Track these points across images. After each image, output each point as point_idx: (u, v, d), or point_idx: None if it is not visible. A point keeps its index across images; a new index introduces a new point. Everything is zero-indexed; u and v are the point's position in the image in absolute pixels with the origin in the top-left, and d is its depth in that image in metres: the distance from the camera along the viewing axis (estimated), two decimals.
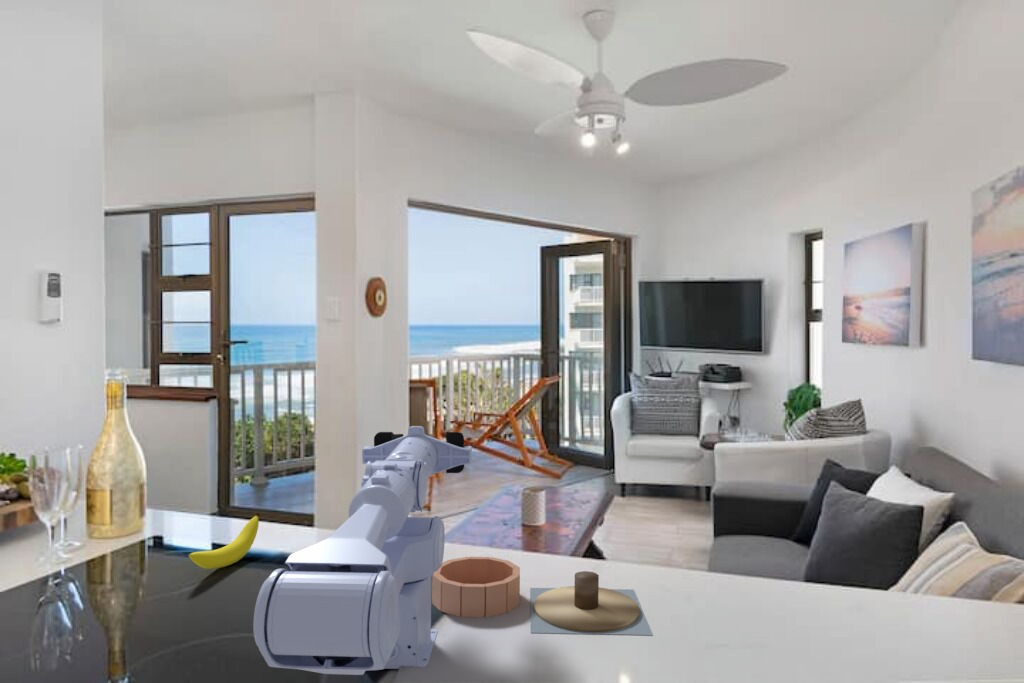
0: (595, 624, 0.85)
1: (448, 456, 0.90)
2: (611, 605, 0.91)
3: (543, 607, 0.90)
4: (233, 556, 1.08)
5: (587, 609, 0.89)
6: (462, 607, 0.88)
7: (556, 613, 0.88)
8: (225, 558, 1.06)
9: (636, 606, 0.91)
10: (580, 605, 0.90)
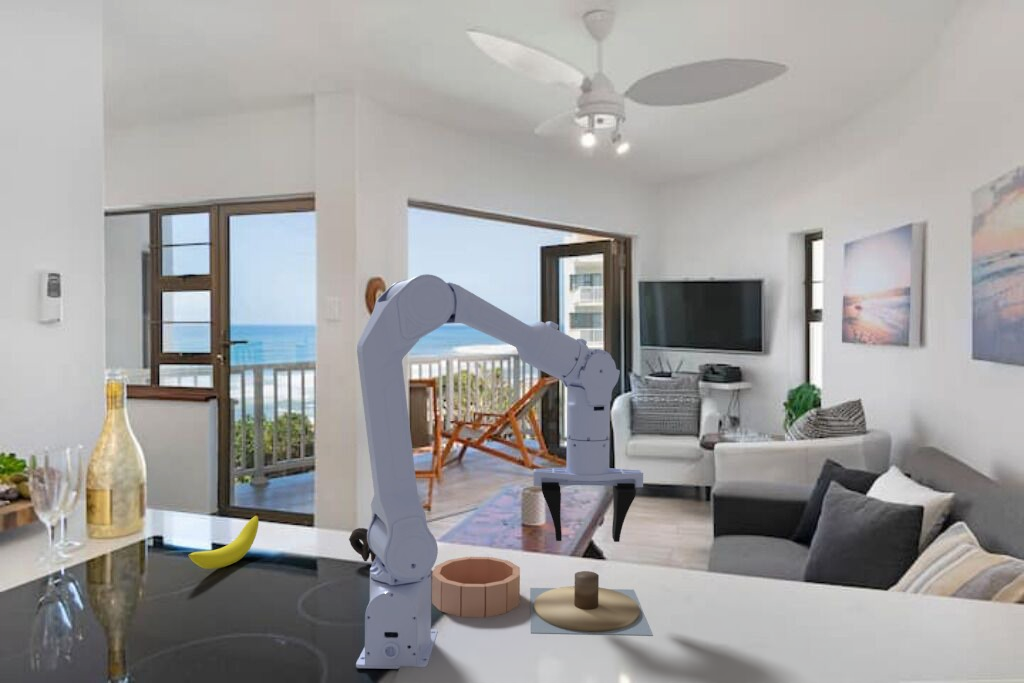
0: (595, 624, 0.85)
1: (620, 471, 0.91)
2: (611, 605, 0.91)
3: (543, 607, 0.90)
4: (233, 556, 1.08)
5: (587, 609, 0.89)
6: (462, 607, 0.88)
7: (556, 613, 0.88)
8: (225, 558, 1.06)
9: (636, 606, 0.91)
10: (580, 605, 0.90)
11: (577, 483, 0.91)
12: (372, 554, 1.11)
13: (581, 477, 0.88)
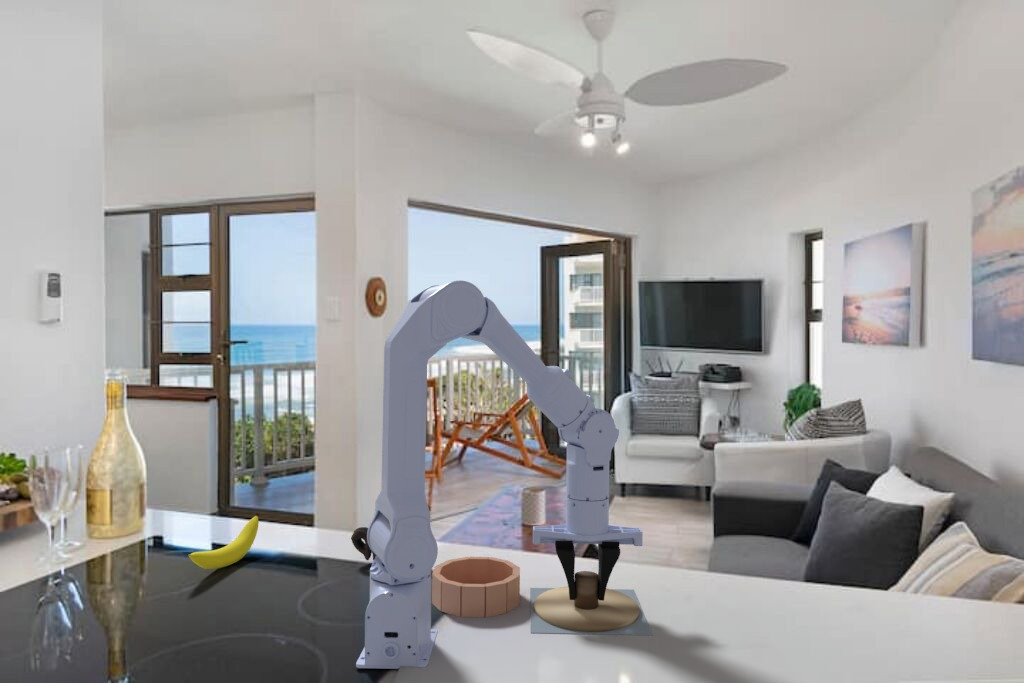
0: (595, 624, 0.85)
1: (619, 529, 0.91)
2: (611, 605, 0.91)
3: (543, 607, 0.90)
4: (233, 556, 1.08)
5: (587, 609, 0.89)
6: (462, 607, 0.88)
7: (556, 613, 0.88)
8: (225, 558, 1.06)
9: (636, 606, 0.91)
10: (580, 605, 0.90)
11: (576, 541, 0.91)
12: None
13: (580, 537, 0.88)
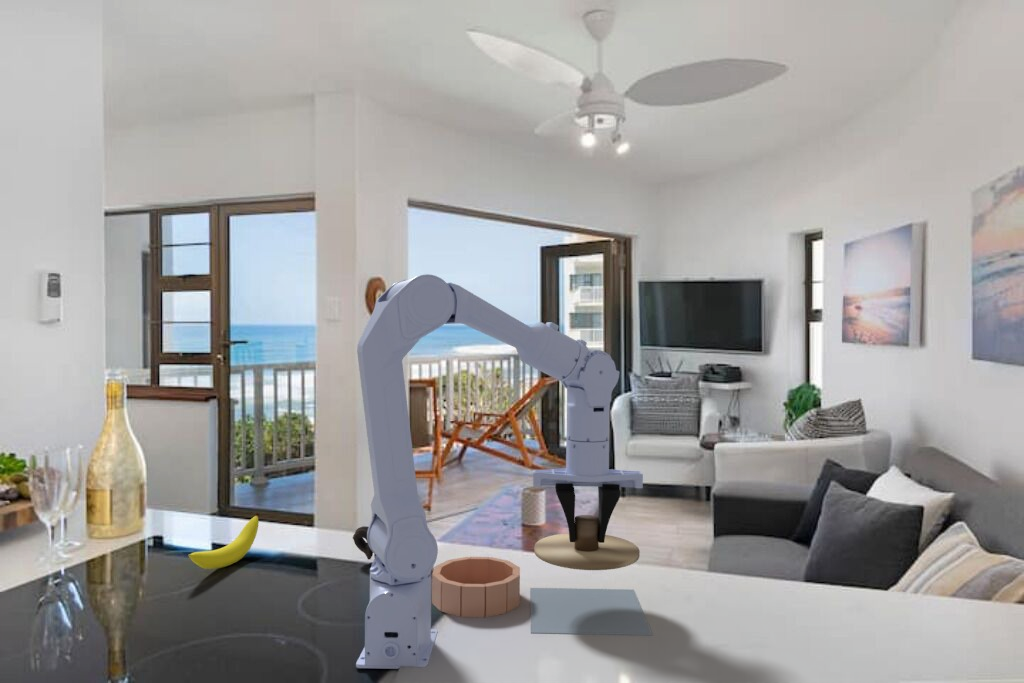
0: (595, 563, 0.85)
1: (619, 472, 0.91)
2: (611, 548, 0.91)
3: (543, 549, 0.90)
4: (233, 556, 1.08)
5: (587, 551, 0.89)
6: (462, 607, 0.88)
7: (556, 554, 0.88)
8: (225, 558, 1.06)
9: (636, 549, 0.91)
10: (580, 547, 0.90)
11: (577, 484, 0.91)
12: None
13: (581, 478, 0.88)
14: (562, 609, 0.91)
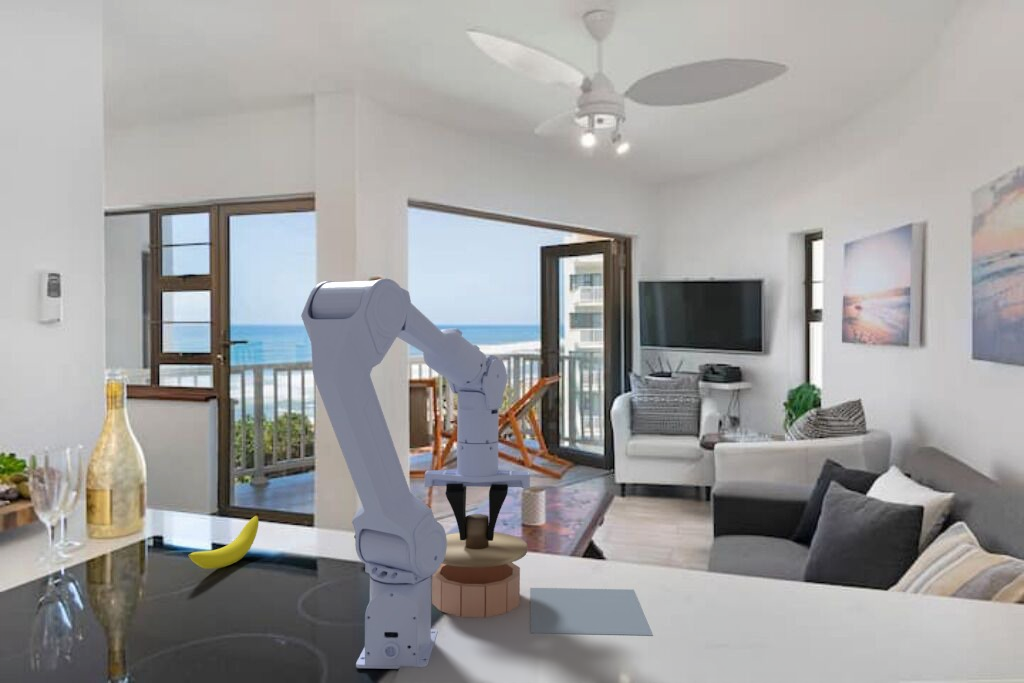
0: (479, 560, 0.88)
1: (508, 472, 0.94)
2: (501, 545, 0.94)
3: None
4: (233, 556, 1.08)
5: (476, 549, 0.93)
6: (462, 607, 0.88)
7: None
8: (225, 558, 1.06)
9: (525, 546, 0.94)
10: (470, 545, 0.93)
11: (467, 484, 0.94)
12: None
13: (468, 478, 0.91)
14: (562, 609, 0.91)
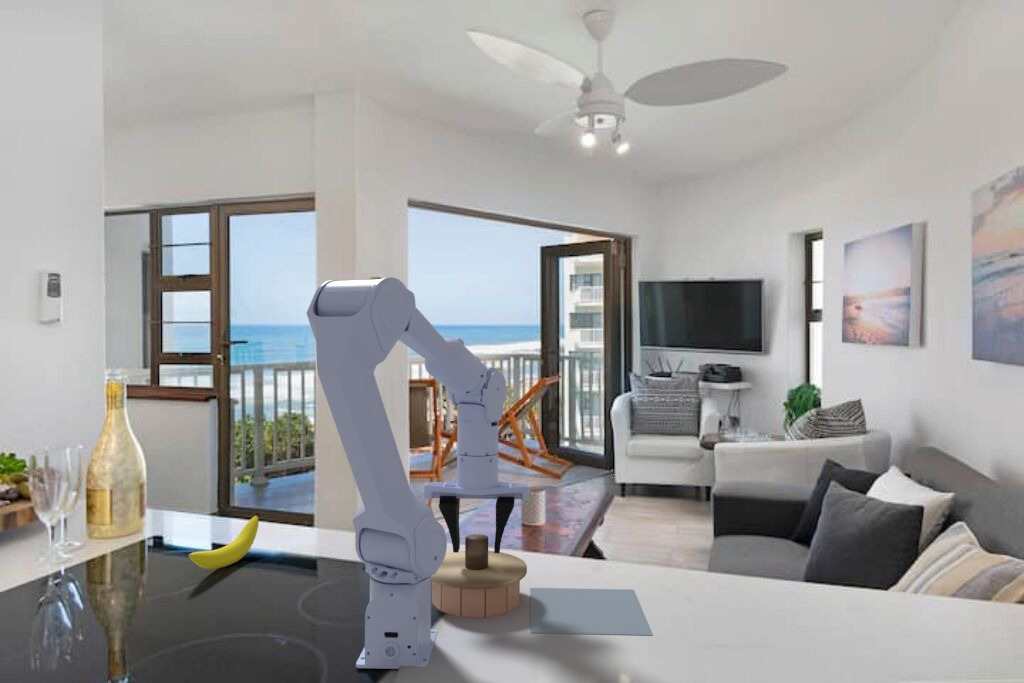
0: (478, 582, 0.88)
1: (508, 485, 0.94)
2: (500, 566, 0.94)
3: None
4: (233, 556, 1.08)
5: (476, 569, 0.93)
6: (462, 607, 0.88)
7: (444, 573, 0.91)
8: (225, 558, 1.06)
9: (524, 567, 0.94)
10: (469, 566, 0.93)
11: (467, 496, 0.94)
12: None
13: (467, 491, 0.91)
14: (562, 609, 0.91)
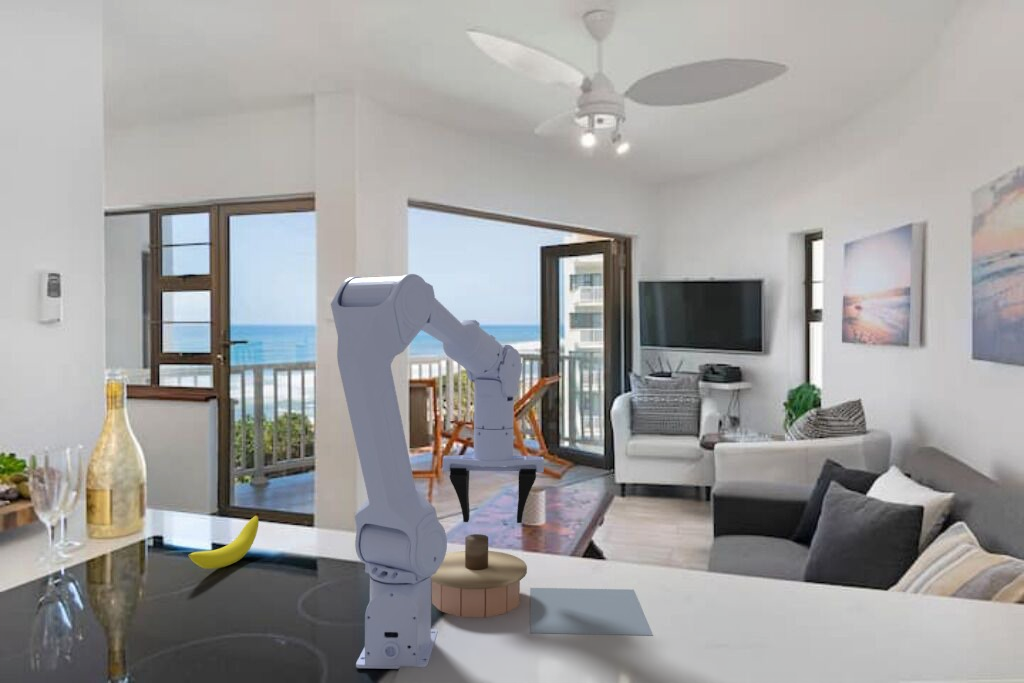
0: (478, 582, 0.88)
1: (523, 457, 0.98)
2: (500, 566, 0.94)
3: None
4: (233, 556, 1.08)
5: (476, 569, 0.93)
6: (462, 607, 0.88)
7: (444, 573, 0.91)
8: (225, 558, 1.06)
9: (524, 567, 0.94)
10: (469, 566, 0.93)
11: (483, 469, 0.98)
12: None
13: (484, 463, 0.95)
14: (562, 609, 0.91)
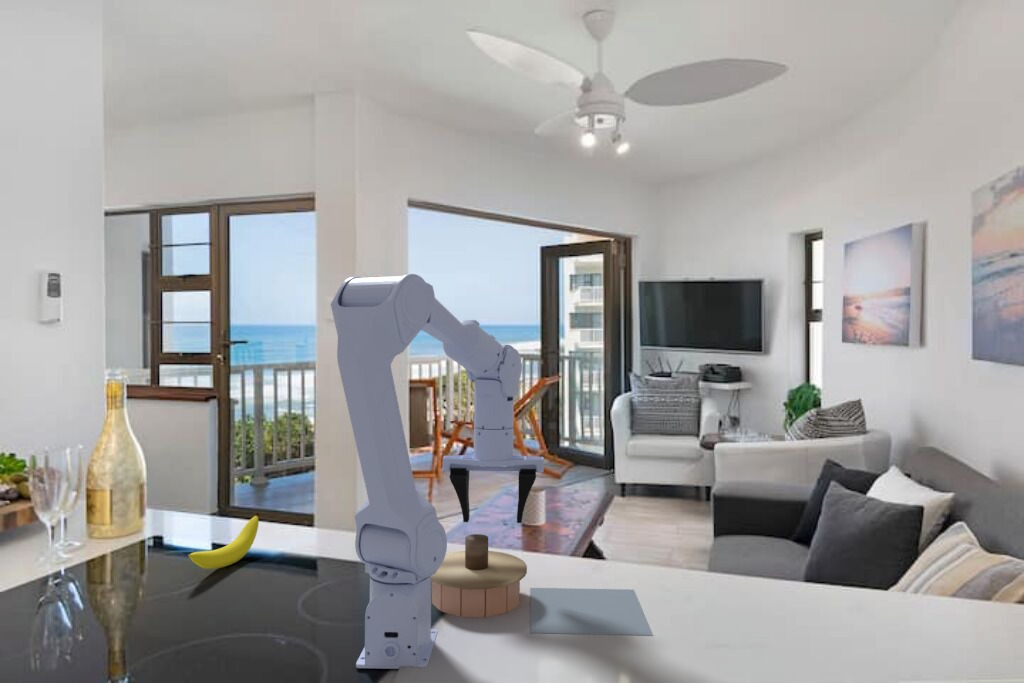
0: (478, 582, 0.88)
1: (523, 457, 0.98)
2: (500, 566, 0.94)
3: None
4: (233, 556, 1.08)
5: (476, 569, 0.93)
6: (462, 607, 0.88)
7: (444, 573, 0.91)
8: (225, 558, 1.06)
9: (524, 567, 0.94)
10: (469, 566, 0.93)
11: (483, 469, 0.98)
12: None
13: (484, 463, 0.95)
14: (562, 609, 0.91)
